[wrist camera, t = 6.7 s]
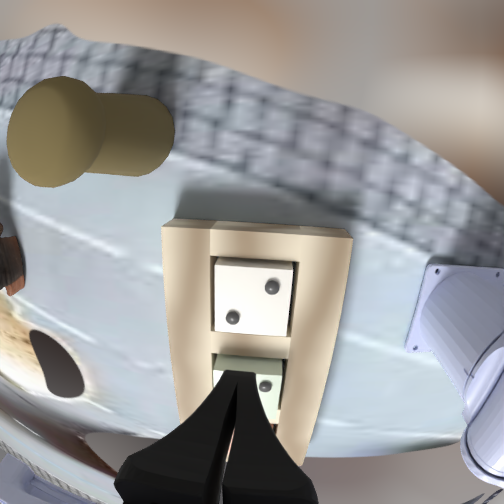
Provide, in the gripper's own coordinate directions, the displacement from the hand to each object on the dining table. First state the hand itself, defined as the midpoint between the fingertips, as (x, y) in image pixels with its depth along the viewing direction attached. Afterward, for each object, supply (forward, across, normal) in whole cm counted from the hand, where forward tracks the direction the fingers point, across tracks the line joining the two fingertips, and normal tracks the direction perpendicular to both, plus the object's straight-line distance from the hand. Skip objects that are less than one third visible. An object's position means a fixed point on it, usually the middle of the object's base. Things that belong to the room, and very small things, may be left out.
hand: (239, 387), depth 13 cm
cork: (+11, +9, -11) cm, 18 cm away
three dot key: (+10, 0, +7) cm, 13 cm away
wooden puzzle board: (+10, 0, +7) cm, 13 cm away
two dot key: (+11, 0, 0) cm, 11 cm away
